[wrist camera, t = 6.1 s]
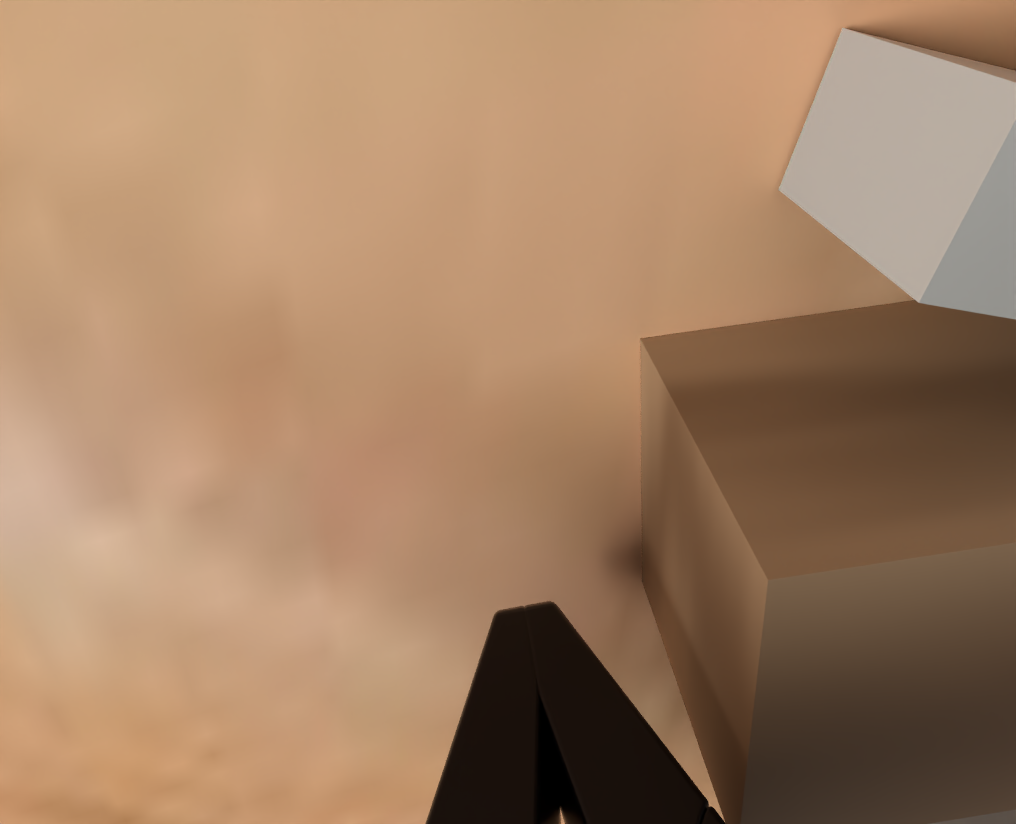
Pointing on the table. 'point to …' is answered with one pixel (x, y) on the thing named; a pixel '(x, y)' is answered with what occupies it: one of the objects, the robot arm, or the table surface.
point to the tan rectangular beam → (839, 559)
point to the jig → (916, 178)
